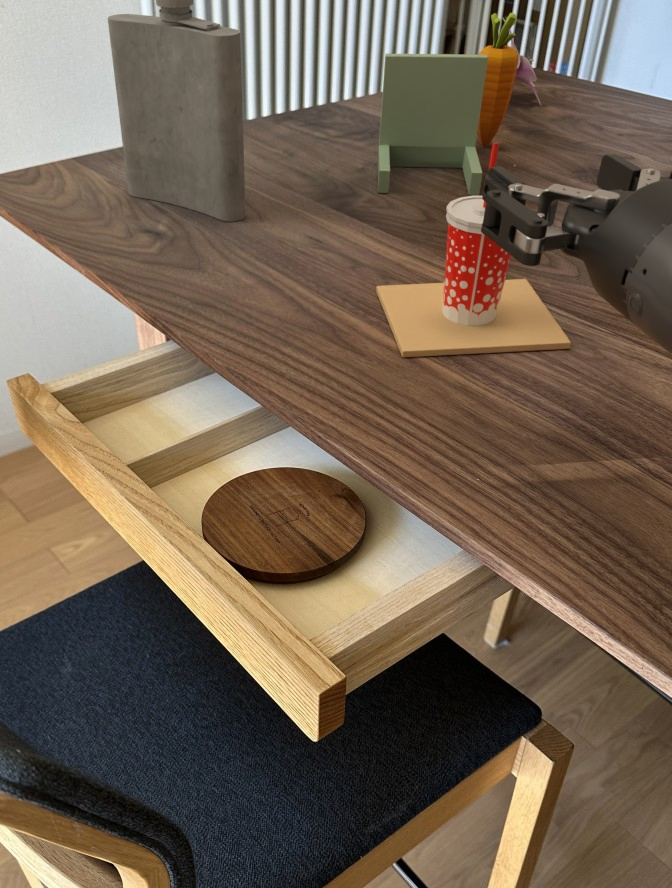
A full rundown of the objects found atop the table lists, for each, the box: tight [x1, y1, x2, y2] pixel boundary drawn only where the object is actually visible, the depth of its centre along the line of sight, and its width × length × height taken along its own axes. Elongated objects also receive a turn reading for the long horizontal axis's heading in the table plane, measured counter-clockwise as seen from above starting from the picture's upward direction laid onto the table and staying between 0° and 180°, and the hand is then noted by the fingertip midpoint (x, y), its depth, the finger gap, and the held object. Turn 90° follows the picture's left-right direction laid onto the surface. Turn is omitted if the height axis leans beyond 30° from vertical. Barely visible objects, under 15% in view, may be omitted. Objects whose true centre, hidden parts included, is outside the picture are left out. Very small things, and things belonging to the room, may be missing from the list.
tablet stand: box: [377, 53, 488, 196], centre depth 96 cm, size 11×10×12 cm
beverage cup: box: [442, 141, 512, 326], centre depth 69 cm, size 6×6×14 cm
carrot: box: [477, 12, 520, 148], centre depth 103 cm, size 5×5×15 cm
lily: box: [501, 16, 542, 106], centre depth 122 cm, size 12×12×10 cm
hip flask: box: [107, 0, 247, 223], centre depth 88 cm, size 16×4×20 cm, turn 55°
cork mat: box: [375, 278, 572, 358], centre depth 74 cm, size 14×12×1 cm
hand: (547, 175), depth 58 cm, fingers open, 8 cm apart
